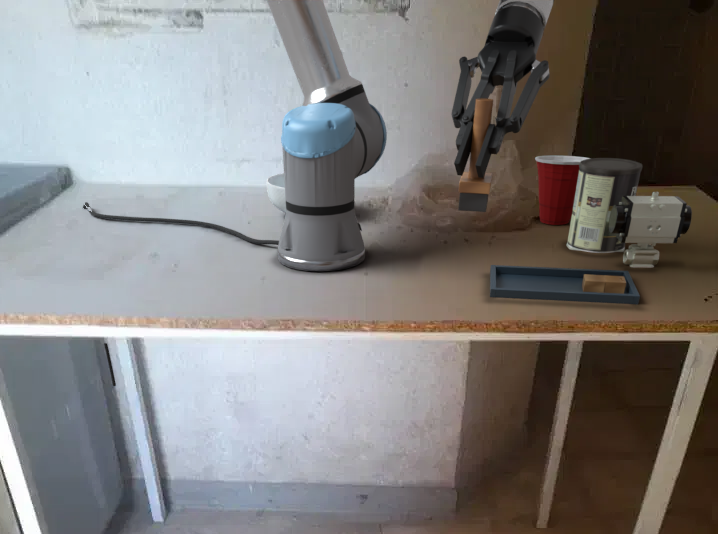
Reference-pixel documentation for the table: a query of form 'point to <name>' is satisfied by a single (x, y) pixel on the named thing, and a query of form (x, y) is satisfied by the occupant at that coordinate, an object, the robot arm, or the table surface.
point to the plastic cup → (557, 187)
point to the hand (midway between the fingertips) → (468, 170)
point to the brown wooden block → (593, 283)
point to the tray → (555, 284)
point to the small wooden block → (614, 284)
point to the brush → (470, 184)
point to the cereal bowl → (277, 191)
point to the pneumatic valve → (648, 225)
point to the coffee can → (600, 202)
